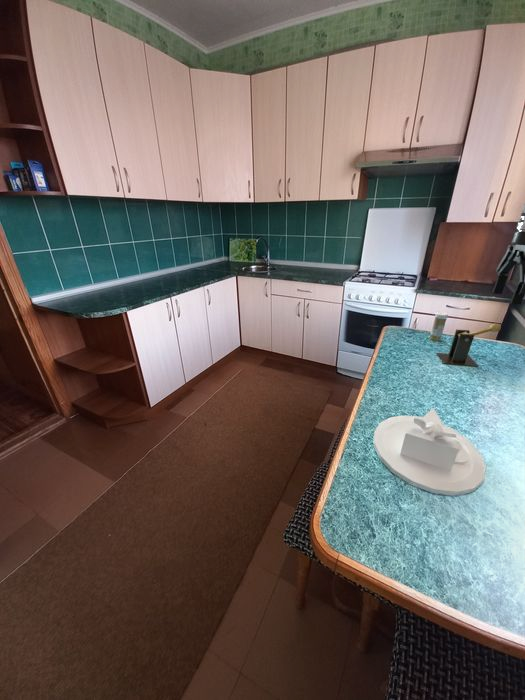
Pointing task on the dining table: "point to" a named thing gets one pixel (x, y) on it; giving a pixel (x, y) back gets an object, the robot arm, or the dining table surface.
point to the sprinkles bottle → (438, 326)
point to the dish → (429, 454)
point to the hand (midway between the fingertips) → (505, 298)
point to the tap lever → (485, 330)
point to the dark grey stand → (459, 350)
